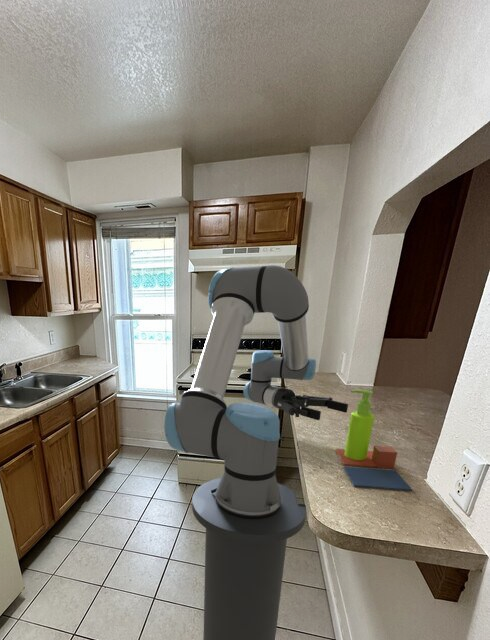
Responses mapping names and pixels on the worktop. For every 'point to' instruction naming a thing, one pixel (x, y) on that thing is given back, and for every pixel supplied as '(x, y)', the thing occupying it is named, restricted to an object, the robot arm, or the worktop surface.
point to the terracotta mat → (352, 462)
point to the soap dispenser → (360, 428)
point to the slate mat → (377, 478)
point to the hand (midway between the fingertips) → (333, 412)
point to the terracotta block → (384, 456)
